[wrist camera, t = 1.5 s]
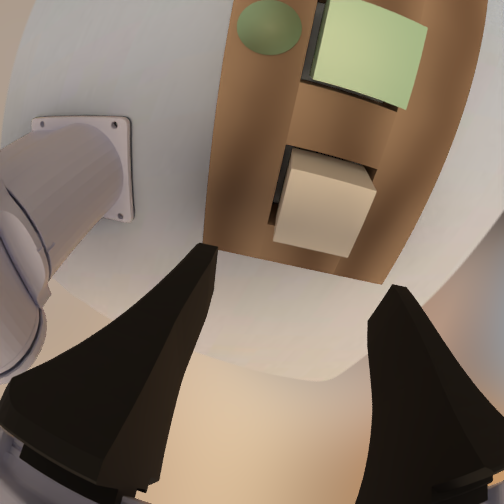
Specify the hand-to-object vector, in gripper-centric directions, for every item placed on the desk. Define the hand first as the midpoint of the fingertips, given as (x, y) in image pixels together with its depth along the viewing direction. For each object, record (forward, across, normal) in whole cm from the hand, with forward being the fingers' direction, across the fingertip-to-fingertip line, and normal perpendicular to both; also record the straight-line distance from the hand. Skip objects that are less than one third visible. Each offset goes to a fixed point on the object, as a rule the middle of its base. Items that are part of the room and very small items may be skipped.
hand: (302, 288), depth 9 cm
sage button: (+8, -1, -8) cm, 11 cm away
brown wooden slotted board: (+9, -1, -8) cm, 12 cm away
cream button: (+8, -1, 0) cm, 8 cm away
